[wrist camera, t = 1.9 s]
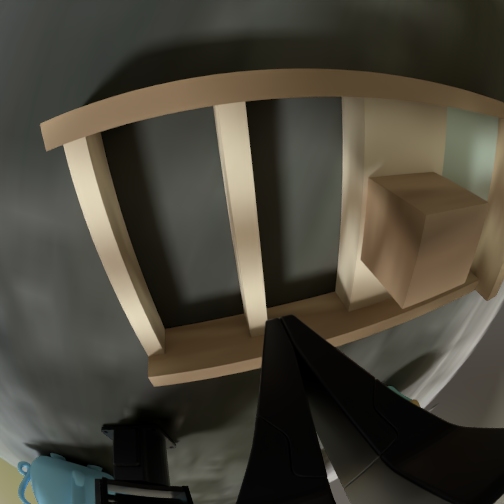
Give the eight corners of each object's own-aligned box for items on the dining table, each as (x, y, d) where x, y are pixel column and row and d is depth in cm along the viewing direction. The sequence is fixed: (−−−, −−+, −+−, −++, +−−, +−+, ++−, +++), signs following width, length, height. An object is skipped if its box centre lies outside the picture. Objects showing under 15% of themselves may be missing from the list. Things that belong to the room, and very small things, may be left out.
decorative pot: (62, 473, 33) (63, 530, 21) (12, 440, 24) (6, 511, 13) (134, 480, 35) (141, 543, 24) (91, 453, 27) (95, 539, 15)
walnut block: (421, 243, 15) (464, 283, 12) (360, 259, 14) (402, 309, 11) (433, 171, 13) (489, 202, 9) (367, 177, 12) (426, 215, 9)
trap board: (459, 261, 20) (496, 295, 16) (155, 341, 17) (154, 409, 13) (487, 99, 13) (541, 117, 8) (75, 113, 10) (18, 131, 5)
